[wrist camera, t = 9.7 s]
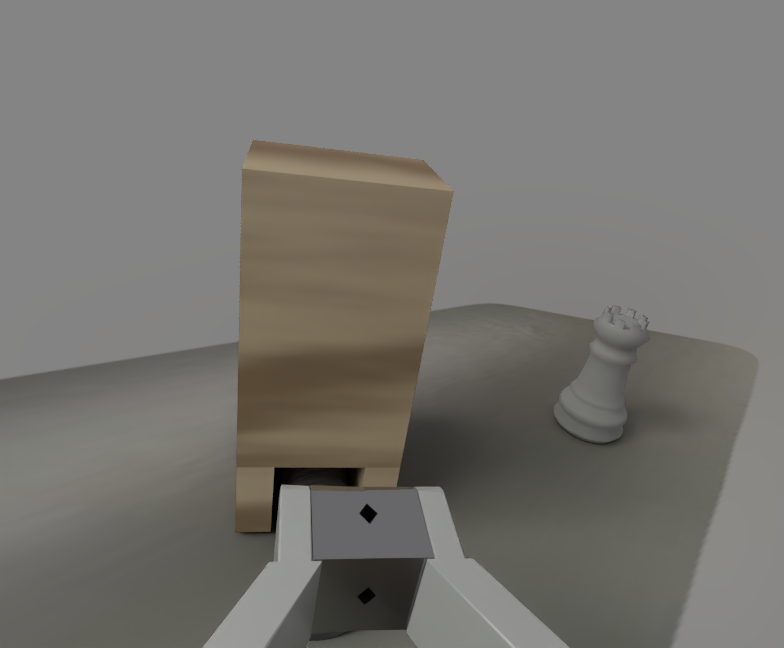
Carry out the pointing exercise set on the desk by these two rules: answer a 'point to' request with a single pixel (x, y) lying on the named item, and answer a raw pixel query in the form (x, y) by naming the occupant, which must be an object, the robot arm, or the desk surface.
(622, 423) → the rook chess piece
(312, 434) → the tall wooden block
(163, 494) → the desk surface
